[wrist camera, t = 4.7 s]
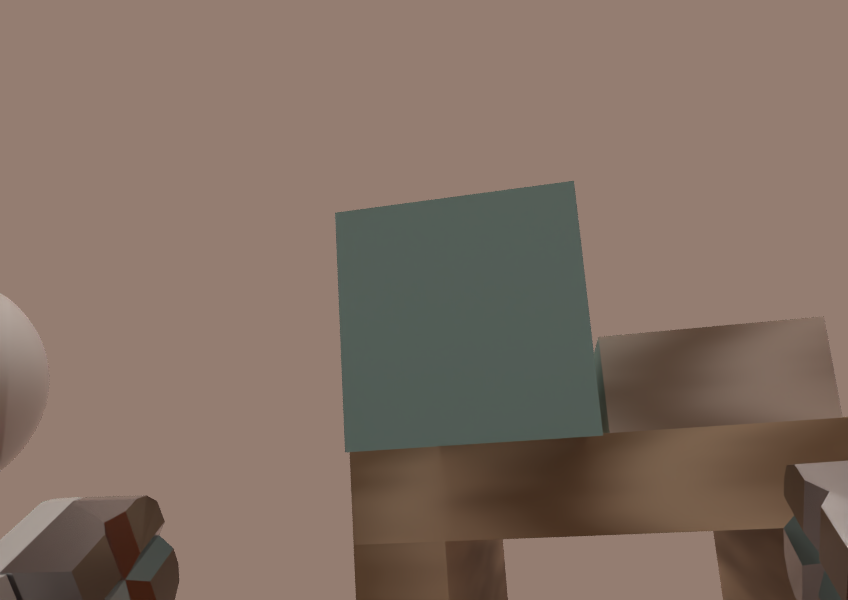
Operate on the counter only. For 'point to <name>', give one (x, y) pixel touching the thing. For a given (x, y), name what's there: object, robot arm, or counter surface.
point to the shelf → (617, 467)
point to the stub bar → (465, 321)
